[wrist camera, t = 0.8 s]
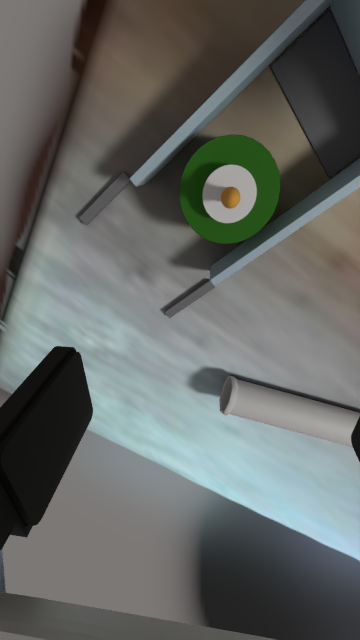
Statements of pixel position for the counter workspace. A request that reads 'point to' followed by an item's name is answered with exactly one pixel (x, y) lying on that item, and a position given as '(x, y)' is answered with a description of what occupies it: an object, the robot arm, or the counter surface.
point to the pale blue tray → (309, 106)
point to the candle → (229, 189)
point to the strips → (103, 202)
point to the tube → (287, 411)
